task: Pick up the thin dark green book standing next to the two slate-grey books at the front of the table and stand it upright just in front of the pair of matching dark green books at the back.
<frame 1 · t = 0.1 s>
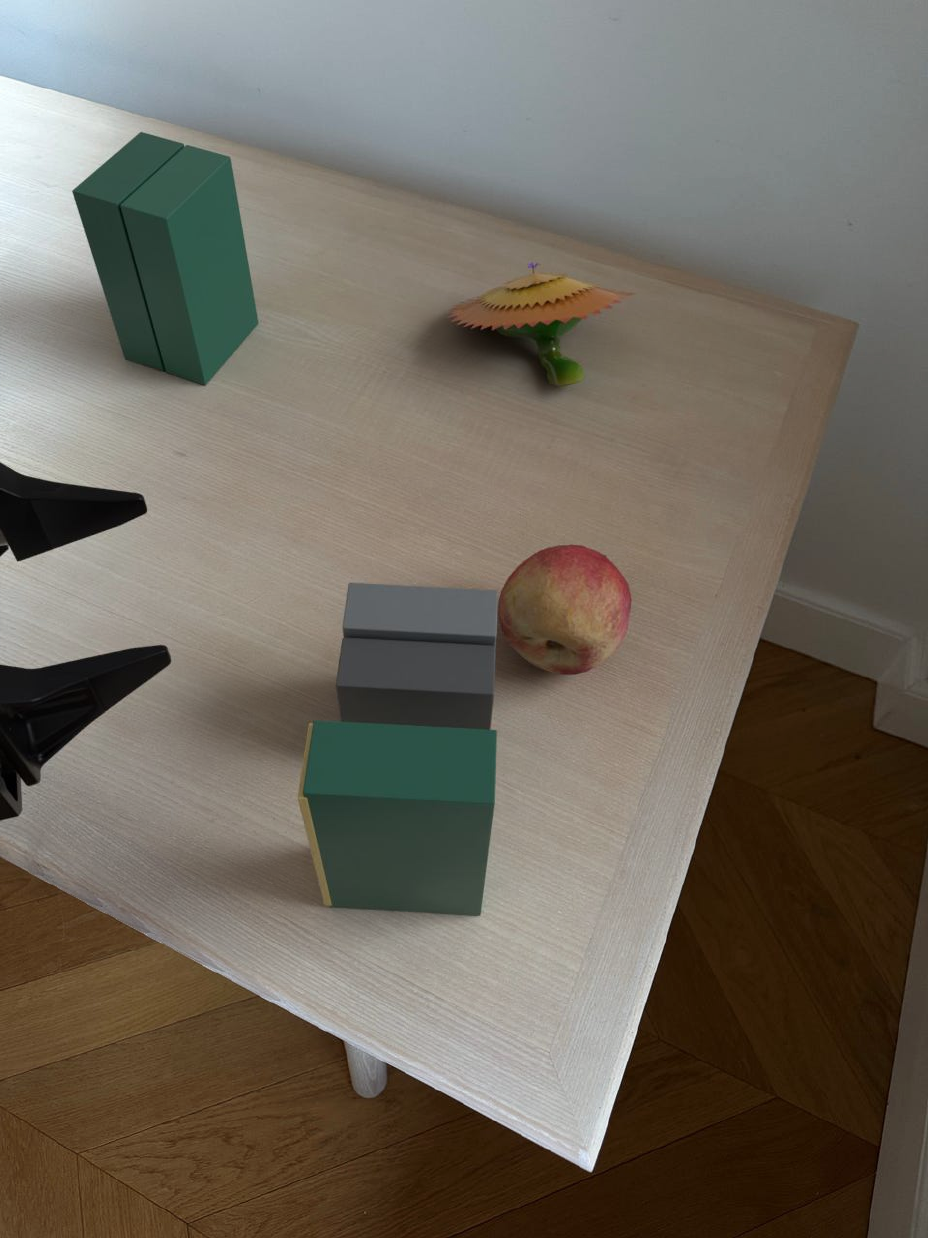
hand: (156, 574, 47), 15 cm above the table, tool horizontal, fingers open, 9 cm apart
green books: (174, 263, 73), on the table
flower: (533, 342, 80), on the table
fruit: (558, 648, 63), on the table
green book: (407, 880, 54), on the table
grey books: (419, 681, 56), on the table
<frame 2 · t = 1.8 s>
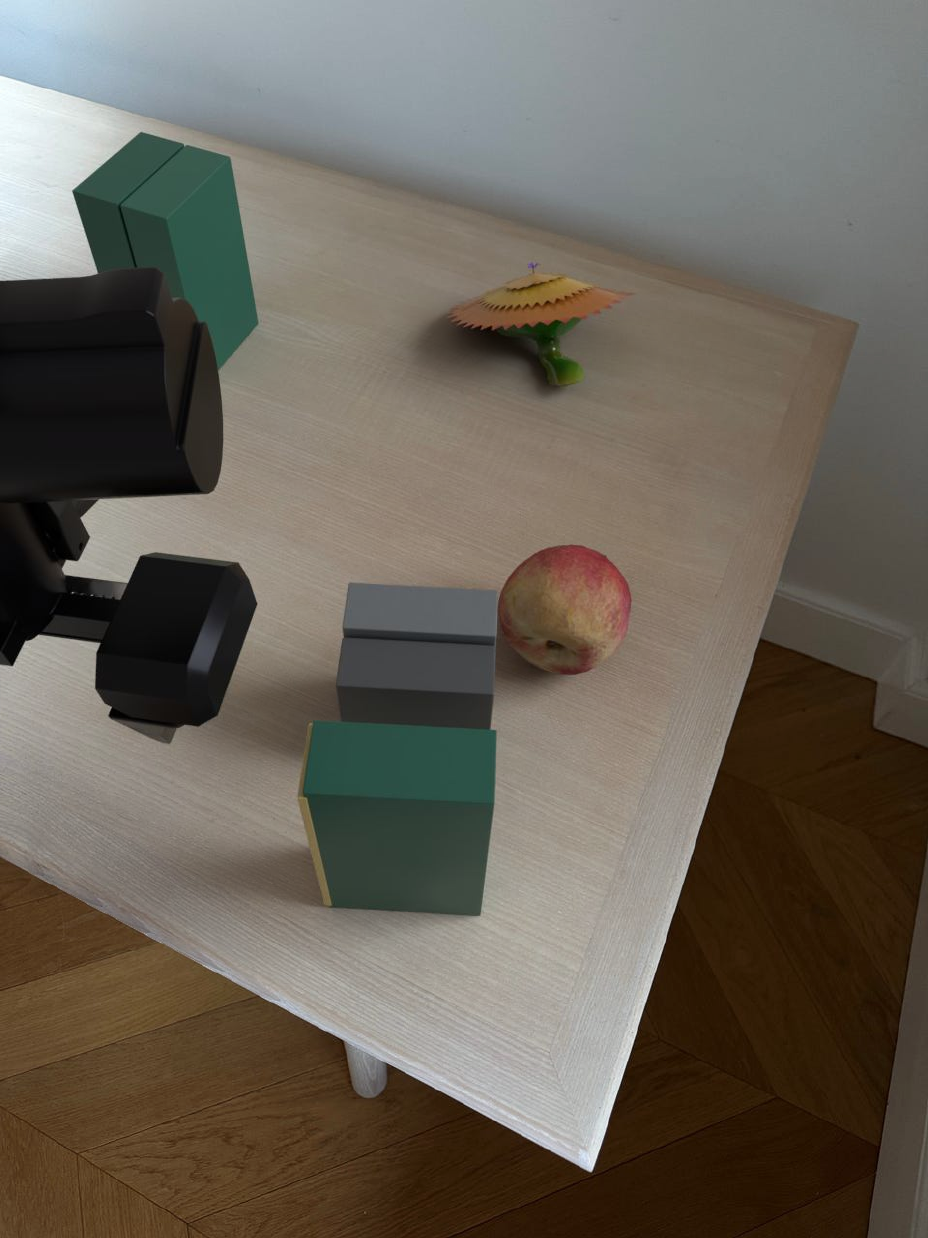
hand: (73, 719, 45), 13 cm above the table, tool pointing down, fingers open, 9 cm apart
nothing on the table moved.
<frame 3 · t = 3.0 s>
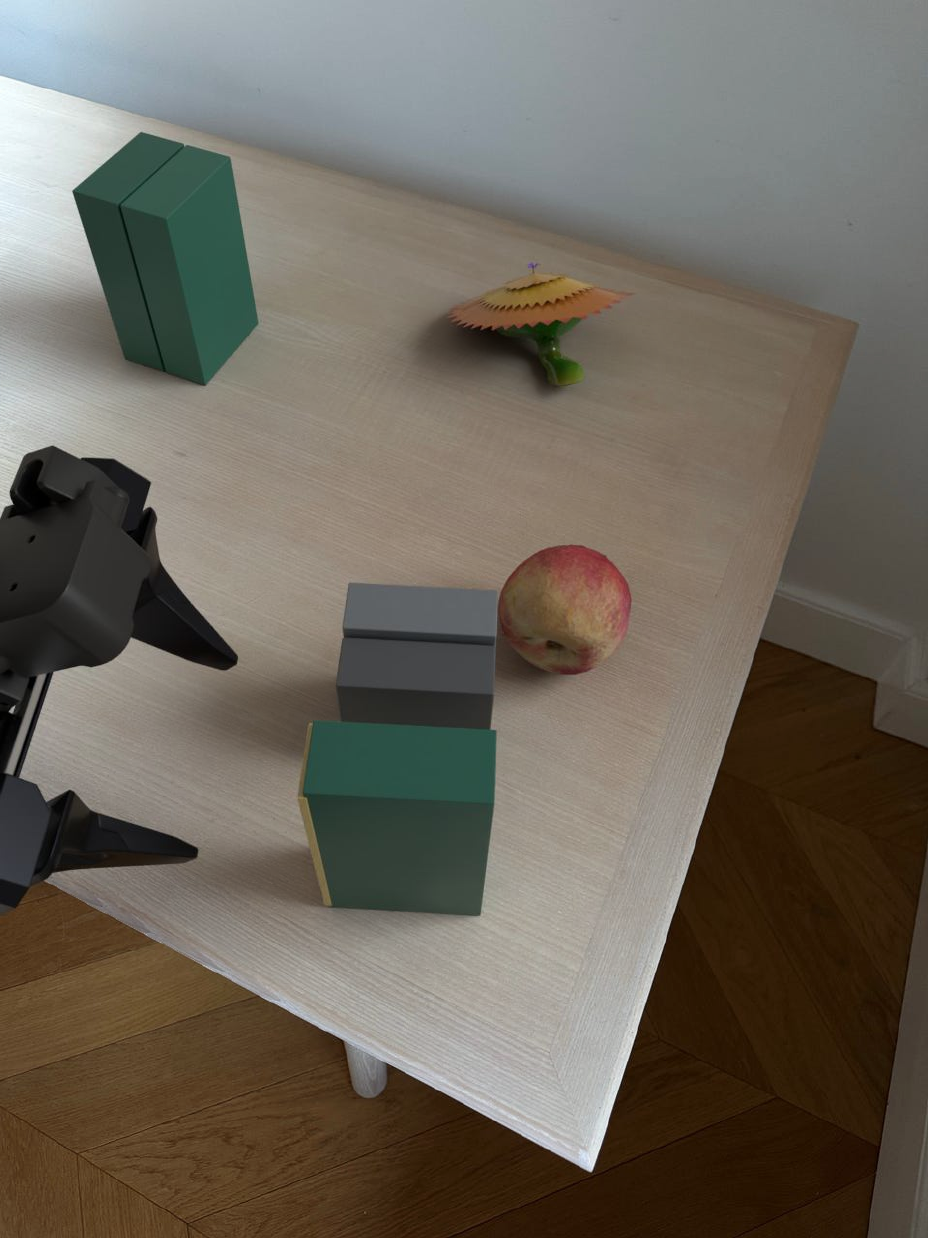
hand: (213, 754, 43), 13 cm above the table, tool tilted 45°, fingers open, 9 cm apart
nothing on the table moved.
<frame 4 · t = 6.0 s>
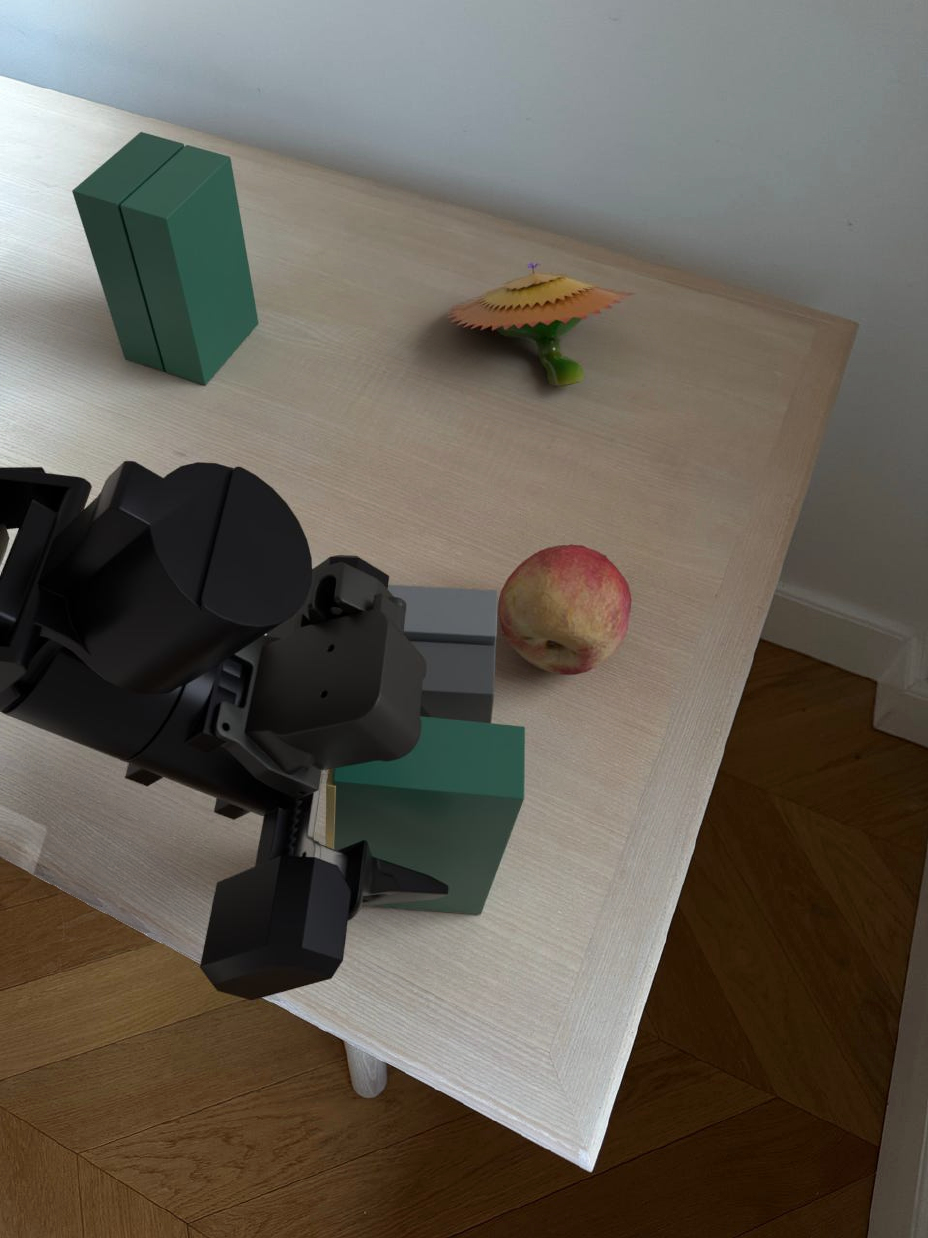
hand: (447, 822, 47), 8 cm above the table, tool tilted 45°, fingers closed on green book, 6 cm apart
green book: (408, 877, 54), on the table, tilted 5°, touching gripper
everything else where it was.
when the fingers open (9 cm above the table, at t = 16.7 s): green book stays where it is, point 1 cm above the table.
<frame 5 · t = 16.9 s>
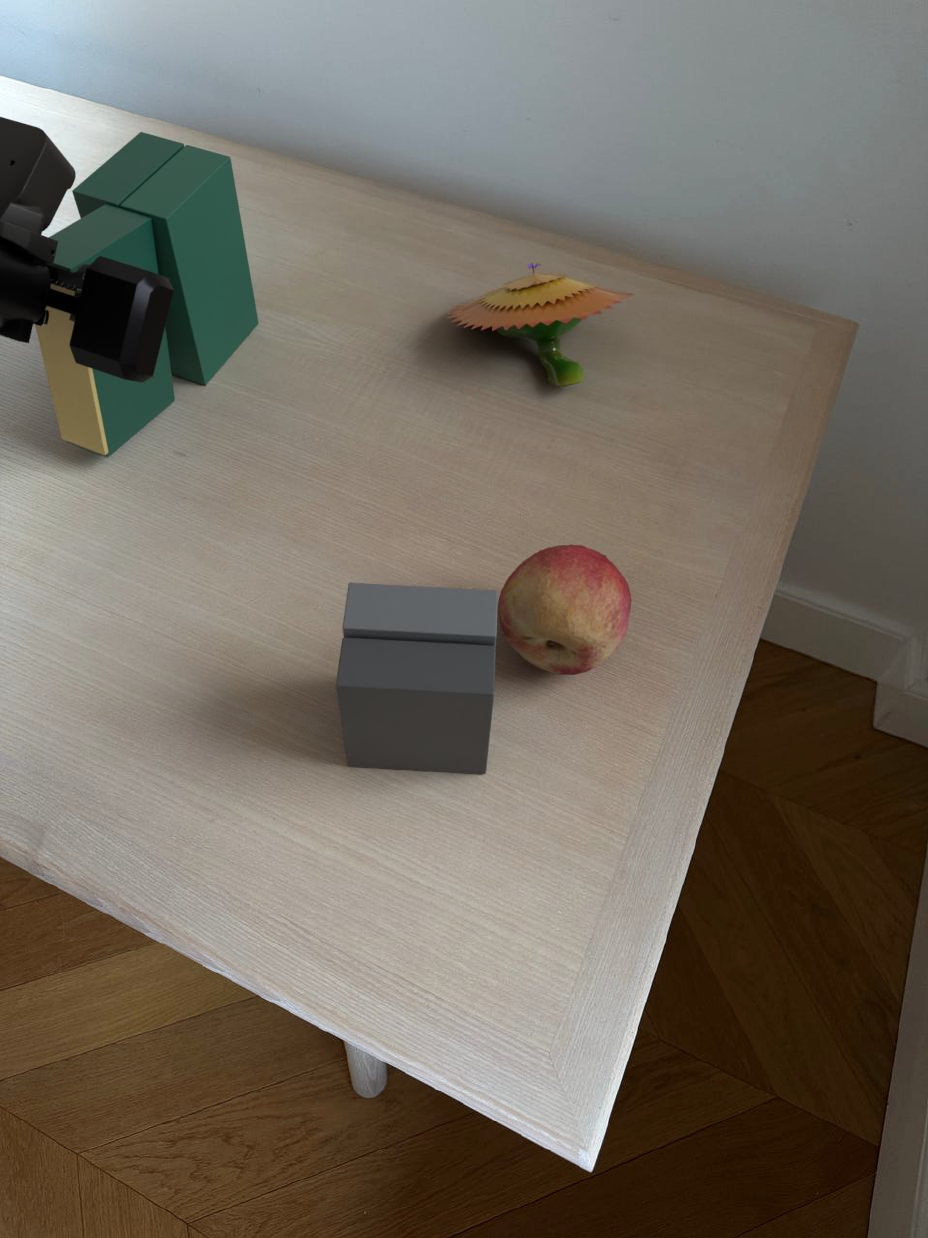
hand: (103, 311, 67), 9 cm above the table, tool tilted 45°, fingers open, 6 cm apart
green book: (122, 420, 73), point 1 cm above the table, tilted 9°, touching gripper
everything else where it was.
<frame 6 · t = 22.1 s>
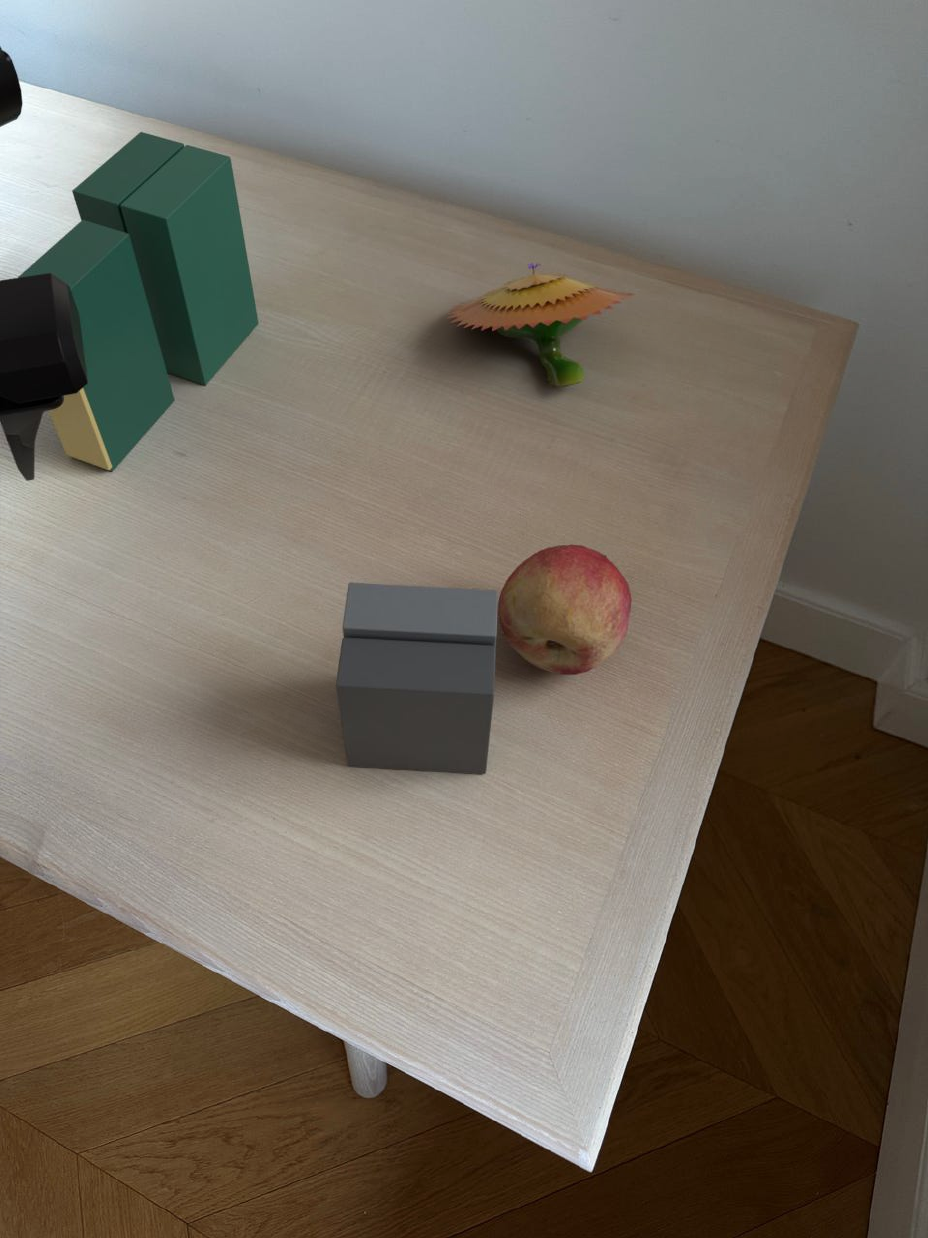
green book: (124, 427, 73), on the table
everything else where it was.
at the end: green book 1.0 cm off-centre on the green books, point 0.0 cm above the green books's base; green book tilted 0° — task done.
